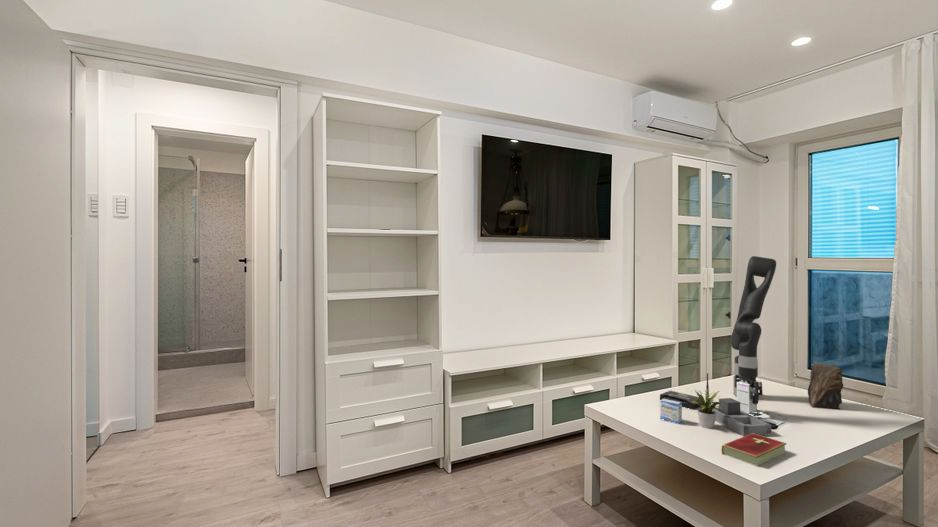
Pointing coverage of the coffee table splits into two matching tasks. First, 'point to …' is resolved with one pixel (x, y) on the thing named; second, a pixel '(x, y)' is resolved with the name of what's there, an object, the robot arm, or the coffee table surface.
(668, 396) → the black wifi router
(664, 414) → the medicine box
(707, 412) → the house plant
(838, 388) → the brown rock
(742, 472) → the coffee table surface
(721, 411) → the grey desk organizer
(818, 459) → the coffee table surface
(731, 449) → the hardcover book
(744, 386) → the syrup box
